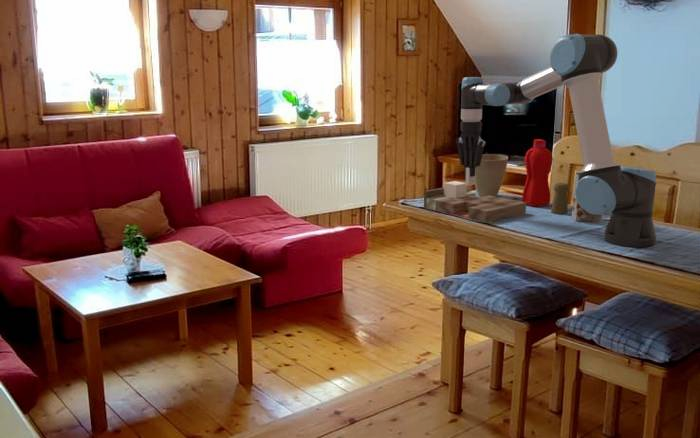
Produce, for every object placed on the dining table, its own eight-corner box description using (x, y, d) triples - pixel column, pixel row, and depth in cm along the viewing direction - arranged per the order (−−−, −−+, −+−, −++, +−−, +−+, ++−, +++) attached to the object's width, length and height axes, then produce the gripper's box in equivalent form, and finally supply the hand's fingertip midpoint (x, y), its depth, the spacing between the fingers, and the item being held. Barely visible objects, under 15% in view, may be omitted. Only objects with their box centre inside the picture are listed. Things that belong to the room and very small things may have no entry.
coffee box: (575, 221, 246) (578, 175, 242) (571, 217, 252) (574, 172, 249) (602, 222, 245) (606, 176, 242) (597, 217, 251) (601, 173, 248)
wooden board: (525, 213, 258) (526, 196, 256) (485, 222, 244) (486, 204, 243) (463, 200, 280) (463, 183, 279) (423, 207, 267) (424, 190, 265)
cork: (571, 213, 258) (573, 183, 255) (557, 215, 255) (560, 185, 253) (561, 210, 263) (563, 181, 261) (547, 211, 261) (549, 182, 258)
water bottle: (556, 205, 272) (561, 139, 266) (534, 208, 267) (538, 141, 261) (540, 200, 280) (544, 137, 274) (518, 203, 275) (522, 138, 269)
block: (466, 196, 268) (466, 183, 267) (455, 198, 264) (456, 185, 263) (454, 193, 273) (455, 180, 271) (443, 195, 269) (444, 182, 268)
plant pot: (462, 193, 293) (463, 155, 289) (494, 191, 297) (496, 153, 294) (479, 200, 279) (481, 160, 275) (513, 198, 283) (515, 158, 280)
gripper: (492, 121, 254) (489, 186, 259) (464, 118, 264) (463, 181, 269) (478, 122, 250) (476, 188, 255) (450, 120, 259) (449, 183, 265)
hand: (469, 184), depth 262 cm, fingers closed
